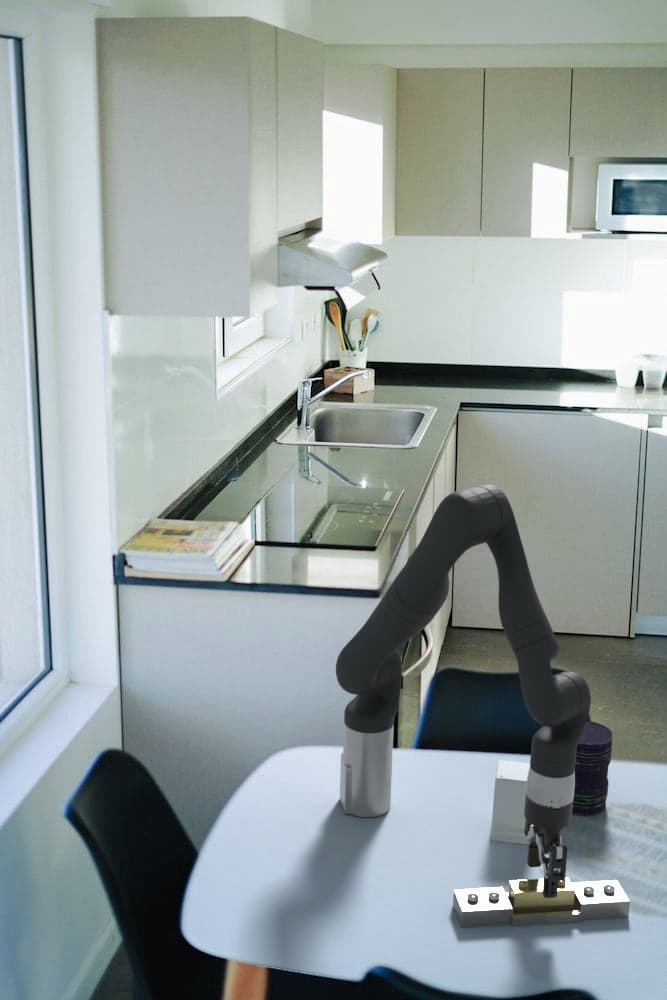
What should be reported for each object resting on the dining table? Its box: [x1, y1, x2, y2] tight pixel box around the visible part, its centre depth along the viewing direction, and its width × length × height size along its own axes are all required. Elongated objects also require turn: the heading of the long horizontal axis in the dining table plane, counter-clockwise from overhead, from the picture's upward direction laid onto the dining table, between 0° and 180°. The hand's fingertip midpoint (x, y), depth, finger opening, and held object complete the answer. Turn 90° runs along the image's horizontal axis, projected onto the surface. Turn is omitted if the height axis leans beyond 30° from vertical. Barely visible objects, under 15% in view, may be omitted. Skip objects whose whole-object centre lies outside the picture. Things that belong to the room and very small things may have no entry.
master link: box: [507, 877, 575, 915], centre depth 204 cm, size 10×4×6 cm, turn 97°
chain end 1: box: [452, 886, 548, 929], centre depth 203 cm, size 14×7×4 cm, turn 98°
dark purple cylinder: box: [572, 720, 614, 817], centre depth 236 cm, size 10×10×15 cm
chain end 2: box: [546, 879, 631, 925], centre depth 205 cm, size 14×7×4 cm, turn 98°
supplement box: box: [490, 759, 531, 846], centre depth 226 cm, size 7×7×13 cm
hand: (541, 881), depth 203 cm, fingers open, 8 cm apart
